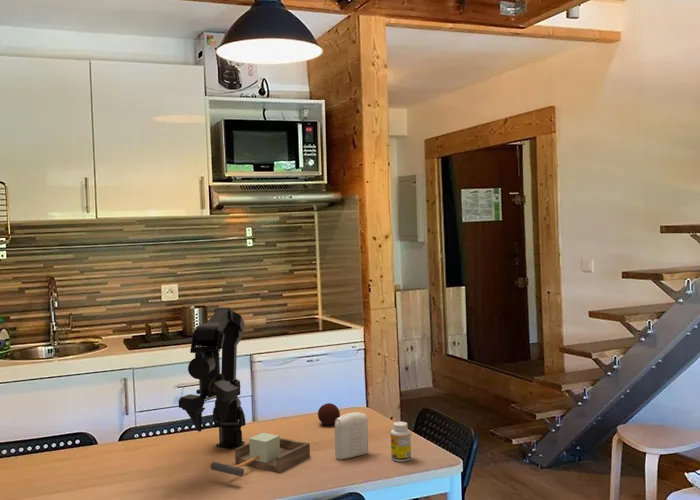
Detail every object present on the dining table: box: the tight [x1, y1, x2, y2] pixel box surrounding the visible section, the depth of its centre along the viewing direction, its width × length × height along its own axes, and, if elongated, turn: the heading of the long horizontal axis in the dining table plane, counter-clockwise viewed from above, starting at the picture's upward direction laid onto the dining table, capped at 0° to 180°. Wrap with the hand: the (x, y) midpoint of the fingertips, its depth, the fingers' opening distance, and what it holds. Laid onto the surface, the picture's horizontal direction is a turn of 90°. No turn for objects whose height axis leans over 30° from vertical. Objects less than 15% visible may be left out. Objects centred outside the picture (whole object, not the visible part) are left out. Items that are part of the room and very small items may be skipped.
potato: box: [317, 402, 341, 426], centre depth 228 cm, size 7×8×7 cm
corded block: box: [210, 432, 281, 477], centre depth 186 cm, size 10×20×6 cm, turn 147°
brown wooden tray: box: [234, 437, 311, 473], centre depth 195 cm, size 16×14×4 cm
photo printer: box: [334, 411, 369, 460], centre depth 197 cm, size 10×4×12 cm, turn 123°
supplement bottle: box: [390, 421, 412, 463], centre depth 192 cm, size 6×6×10 cm
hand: (211, 426), depth 188 cm, fingers open, 9 cm apart
